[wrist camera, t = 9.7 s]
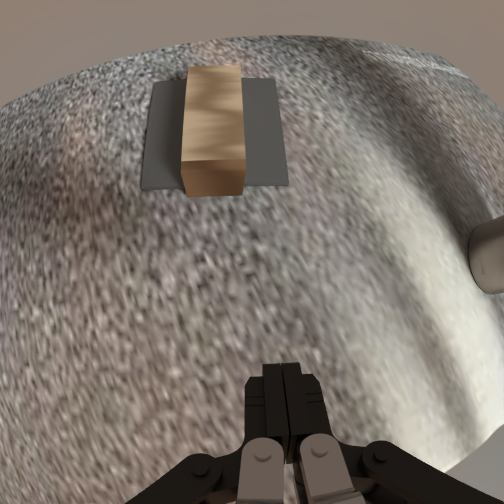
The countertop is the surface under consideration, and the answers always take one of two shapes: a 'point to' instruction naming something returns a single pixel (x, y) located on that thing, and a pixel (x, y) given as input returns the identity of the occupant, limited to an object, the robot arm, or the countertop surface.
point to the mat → (255, 132)
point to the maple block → (213, 132)
